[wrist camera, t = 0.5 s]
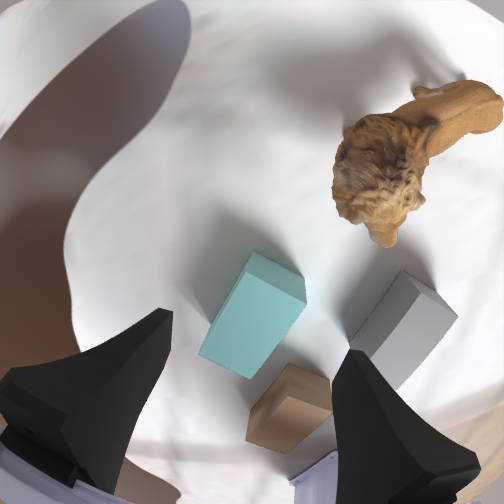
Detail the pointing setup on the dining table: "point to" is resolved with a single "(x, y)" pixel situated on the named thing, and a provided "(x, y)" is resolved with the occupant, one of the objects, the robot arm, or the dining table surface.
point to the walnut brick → (289, 410)
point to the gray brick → (403, 328)
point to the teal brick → (254, 316)
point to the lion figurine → (405, 153)
